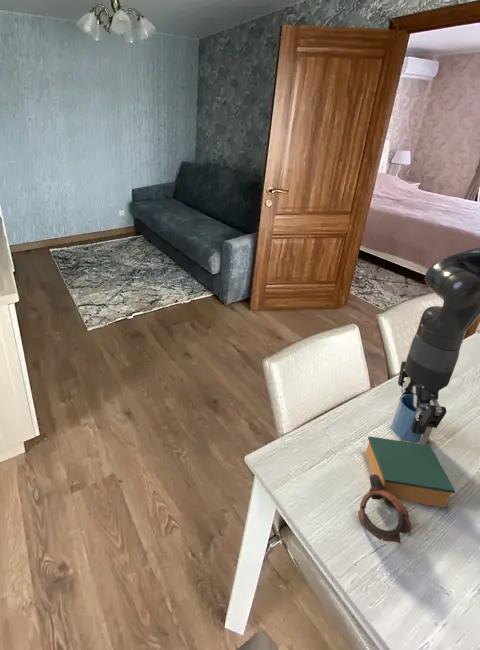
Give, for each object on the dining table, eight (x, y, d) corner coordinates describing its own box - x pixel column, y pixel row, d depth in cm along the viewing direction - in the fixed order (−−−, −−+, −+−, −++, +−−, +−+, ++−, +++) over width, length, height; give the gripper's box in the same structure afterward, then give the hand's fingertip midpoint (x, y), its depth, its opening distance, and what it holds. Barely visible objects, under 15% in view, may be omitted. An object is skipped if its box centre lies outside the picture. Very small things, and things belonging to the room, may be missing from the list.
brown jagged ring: (422, 548, 68) (419, 537, 63) (372, 553, 70) (365, 543, 66) (393, 478, 77) (388, 465, 73) (349, 485, 80) (342, 472, 76)
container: (422, 462, 84) (430, 445, 81) (446, 509, 74) (455, 491, 72) (363, 453, 86) (368, 436, 83) (378, 497, 76) (385, 479, 74)
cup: (414, 422, 78) (423, 395, 75) (426, 444, 73) (436, 416, 70) (387, 418, 79) (395, 392, 76) (397, 440, 74) (406, 413, 71)
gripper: (475, 387, 61) (447, 453, 68) (434, 337, 74) (413, 396, 81) (428, 381, 62) (405, 447, 69) (396, 333, 76) (379, 392, 82)
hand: (410, 419), depth 75 cm, fingers closed on cup, 5 cm apart
